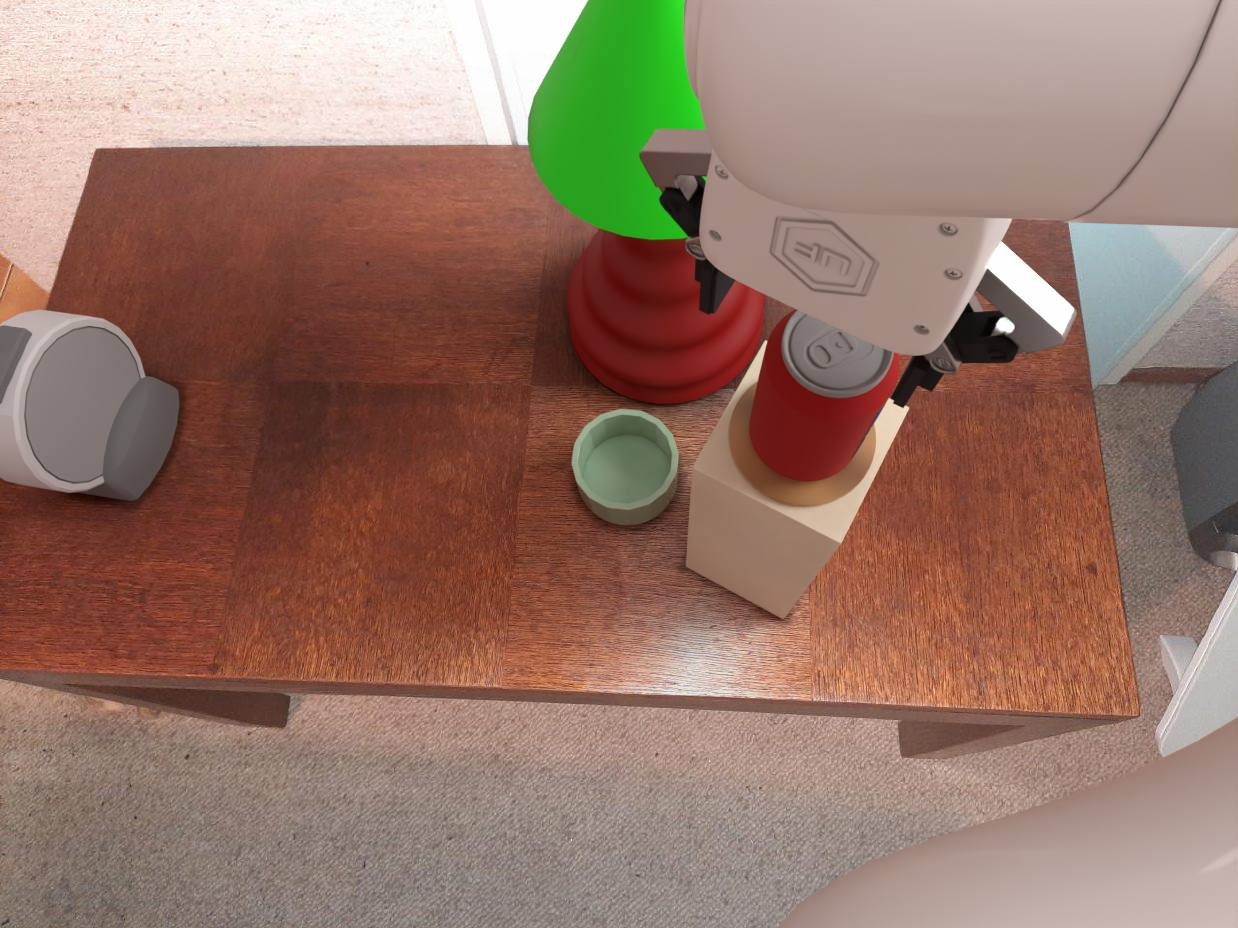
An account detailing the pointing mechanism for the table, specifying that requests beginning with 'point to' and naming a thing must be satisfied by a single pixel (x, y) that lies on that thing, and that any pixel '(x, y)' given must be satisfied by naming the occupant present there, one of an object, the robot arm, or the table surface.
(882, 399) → the beverage can
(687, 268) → the table lamp
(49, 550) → the table surface
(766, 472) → the cork pad
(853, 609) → the table surface
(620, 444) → the can holder
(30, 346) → the alarm clock
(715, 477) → the block
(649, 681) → the table surface
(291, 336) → the table surface
